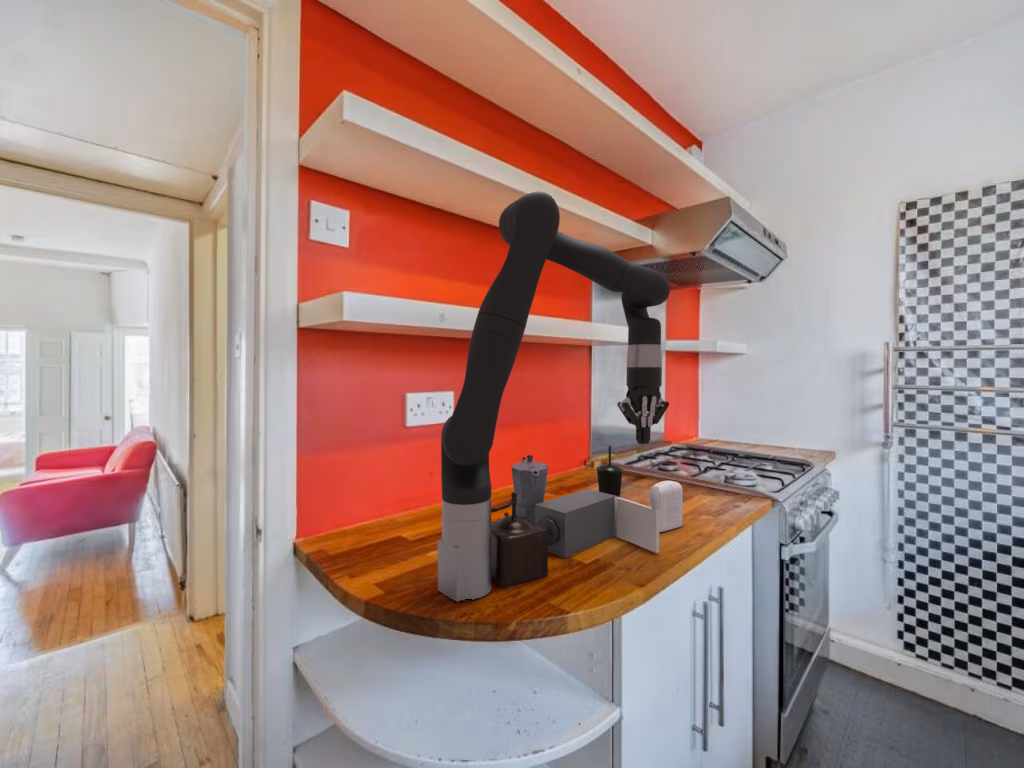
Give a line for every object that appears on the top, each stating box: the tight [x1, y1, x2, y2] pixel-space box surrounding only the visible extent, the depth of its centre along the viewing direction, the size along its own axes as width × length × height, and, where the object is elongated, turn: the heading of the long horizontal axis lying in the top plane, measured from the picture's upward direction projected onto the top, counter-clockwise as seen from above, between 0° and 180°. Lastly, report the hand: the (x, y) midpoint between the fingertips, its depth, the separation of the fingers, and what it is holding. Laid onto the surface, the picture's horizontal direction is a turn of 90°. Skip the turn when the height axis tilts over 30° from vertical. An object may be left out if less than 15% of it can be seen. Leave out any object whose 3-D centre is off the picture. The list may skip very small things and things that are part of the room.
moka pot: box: [511, 454, 549, 523], centre depth 113 cm, size 10×15×20 cm, turn 15°
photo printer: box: [648, 480, 684, 533], centre depth 116 cm, size 10×4×12 cm, turn 123°
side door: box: [614, 485, 660, 554], centre depth 104 cm, size 13×2×14 cm, turn 32°
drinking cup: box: [595, 445, 624, 498], centre depth 126 cm, size 8×8×20 cm
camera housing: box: [535, 488, 616, 559], centre depth 106 cm, size 21×9×10 cm, turn 134°
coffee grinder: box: [491, 491, 549, 588], centre depth 89 cm, size 16×11×18 cm
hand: (643, 443), depth 98 cm, fingers closed
